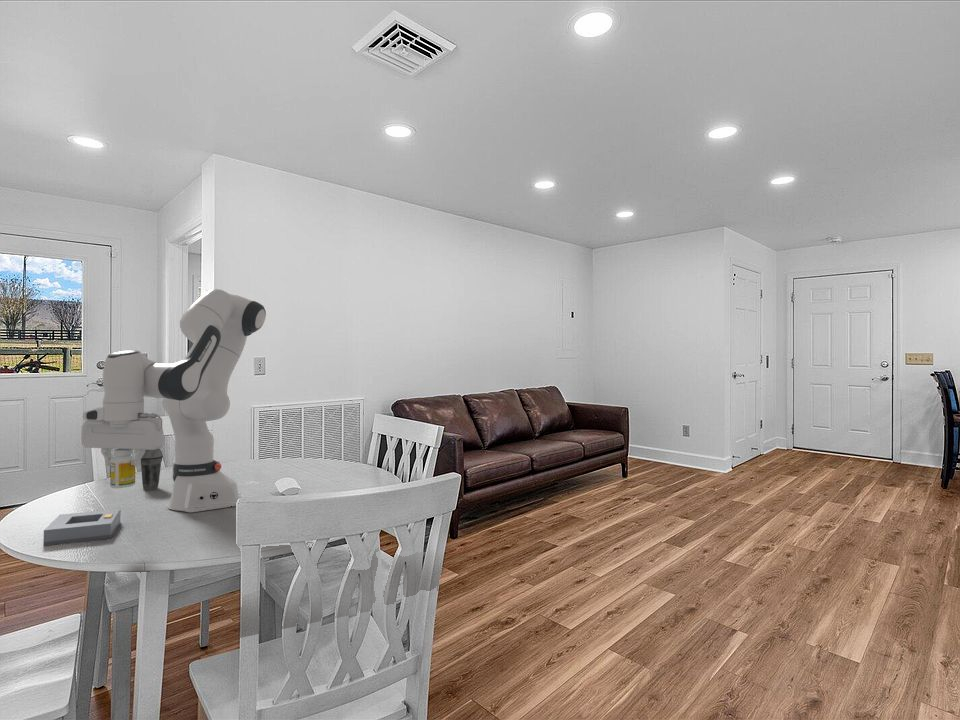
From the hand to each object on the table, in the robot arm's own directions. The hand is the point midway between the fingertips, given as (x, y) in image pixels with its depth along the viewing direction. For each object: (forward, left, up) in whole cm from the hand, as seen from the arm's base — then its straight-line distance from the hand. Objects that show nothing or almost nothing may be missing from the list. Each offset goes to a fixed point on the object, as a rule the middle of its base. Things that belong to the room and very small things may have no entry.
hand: (123, 465), depth 132 cm
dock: (+10, -12, -20) cm, 26 cm away
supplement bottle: (0, 0, -6) cm, 6 cm away
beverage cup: (0, -59, -20) cm, 62 cm away
